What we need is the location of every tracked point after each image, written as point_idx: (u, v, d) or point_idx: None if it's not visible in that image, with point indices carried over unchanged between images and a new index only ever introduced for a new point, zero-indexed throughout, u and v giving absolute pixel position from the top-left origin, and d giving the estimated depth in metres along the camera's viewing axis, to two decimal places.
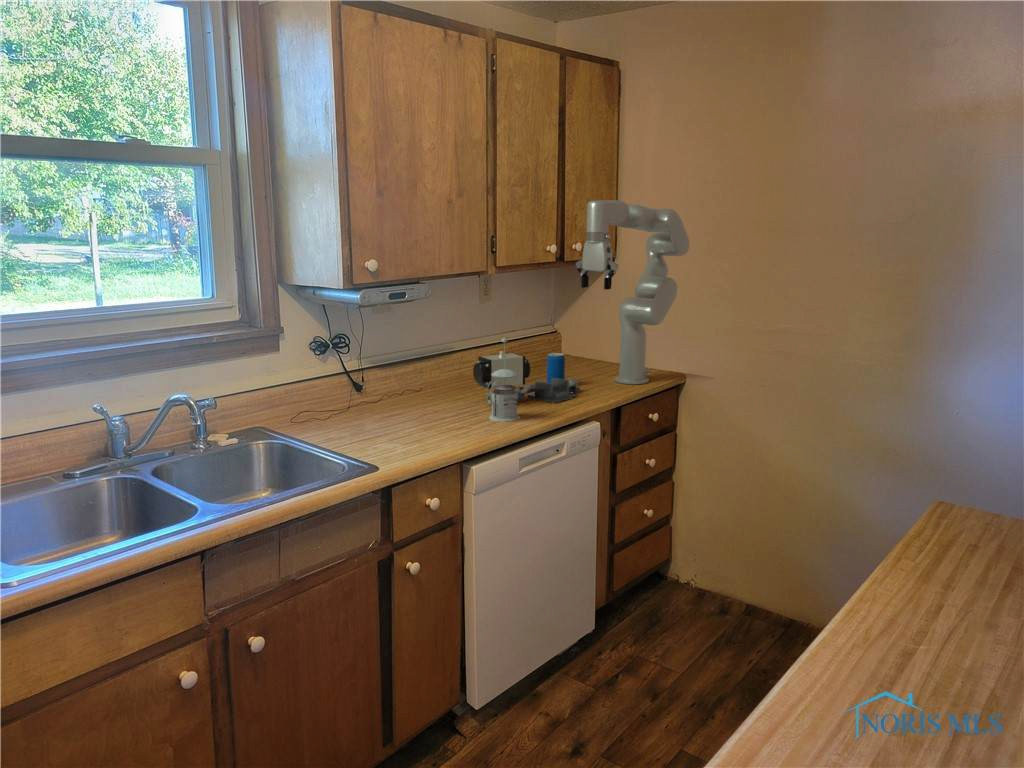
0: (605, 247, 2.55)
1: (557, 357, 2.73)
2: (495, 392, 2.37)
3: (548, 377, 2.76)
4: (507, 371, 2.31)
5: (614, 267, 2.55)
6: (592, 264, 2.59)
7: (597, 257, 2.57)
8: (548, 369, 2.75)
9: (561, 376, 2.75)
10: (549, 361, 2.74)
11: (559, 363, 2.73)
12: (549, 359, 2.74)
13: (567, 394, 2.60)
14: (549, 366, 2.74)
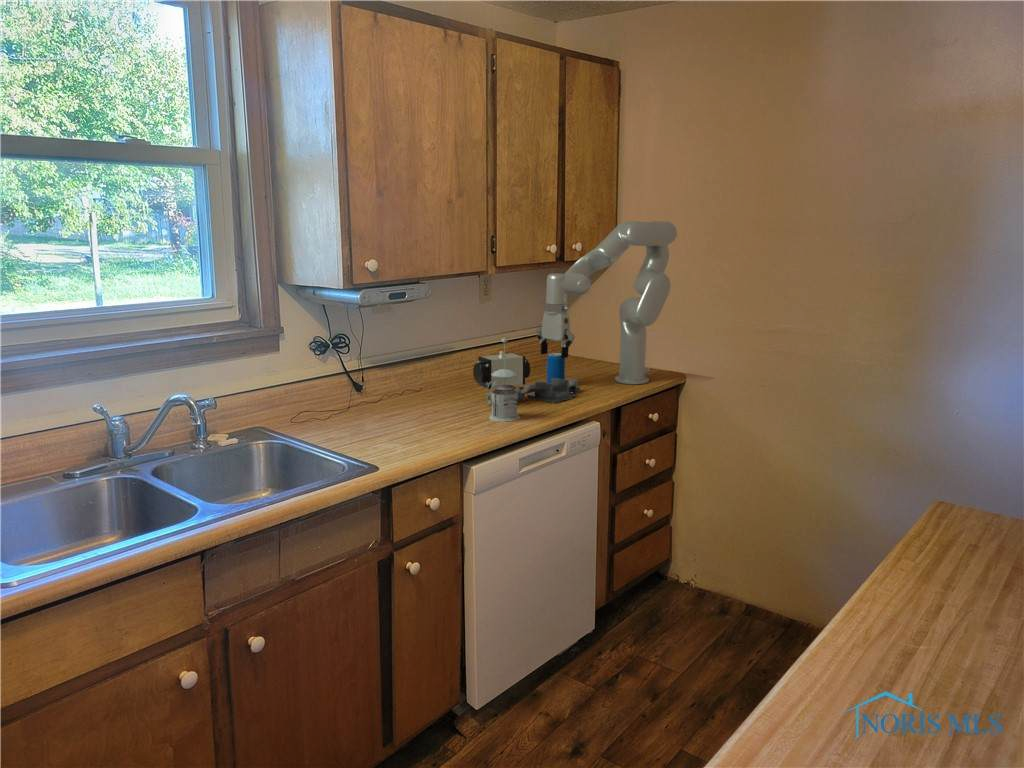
0: (563, 318, 2.68)
1: (557, 357, 2.73)
2: (495, 392, 2.37)
3: (548, 377, 2.76)
4: (507, 371, 2.31)
5: (571, 338, 2.68)
6: (551, 333, 2.72)
7: (555, 327, 2.70)
8: (548, 369, 2.75)
9: (561, 376, 2.75)
10: (549, 361, 2.74)
11: (559, 363, 2.73)
12: (549, 359, 2.74)
13: (567, 394, 2.60)
14: (549, 366, 2.74)
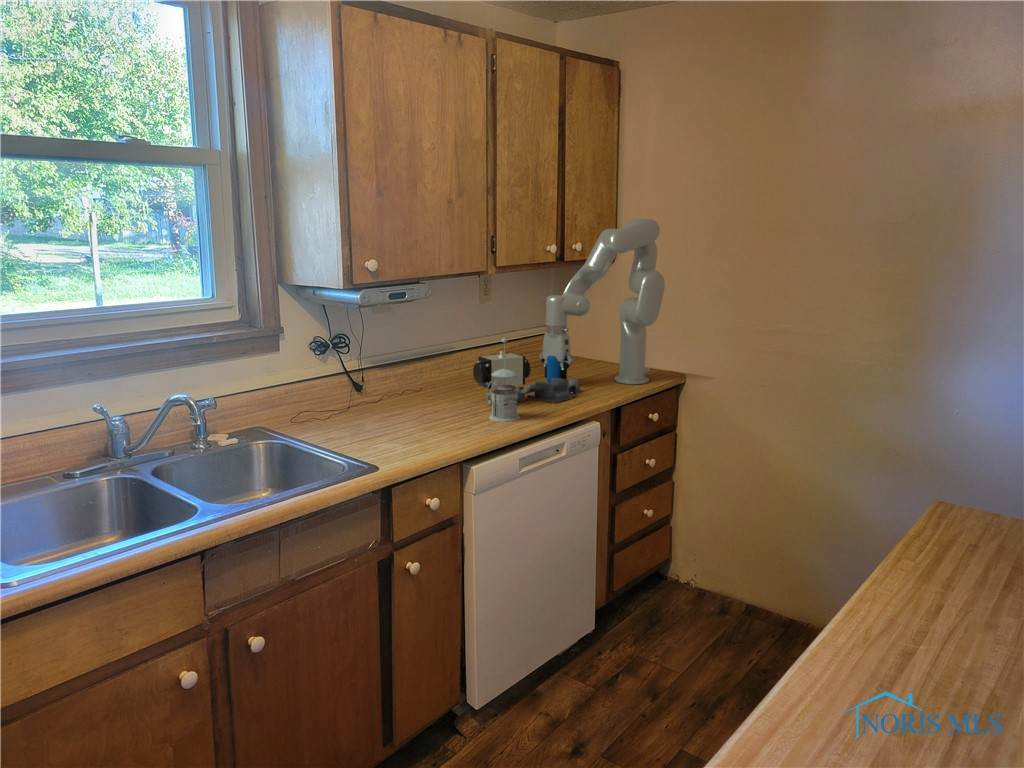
0: (563, 340, 2.70)
1: None
2: (495, 392, 2.37)
3: (548, 377, 2.76)
4: (507, 371, 2.31)
5: (569, 361, 2.71)
6: (552, 354, 2.74)
7: (556, 349, 2.72)
8: (548, 369, 2.75)
9: None
10: (549, 361, 2.74)
11: (559, 363, 2.73)
12: (549, 359, 2.74)
13: (567, 394, 2.60)
14: (549, 366, 2.74)
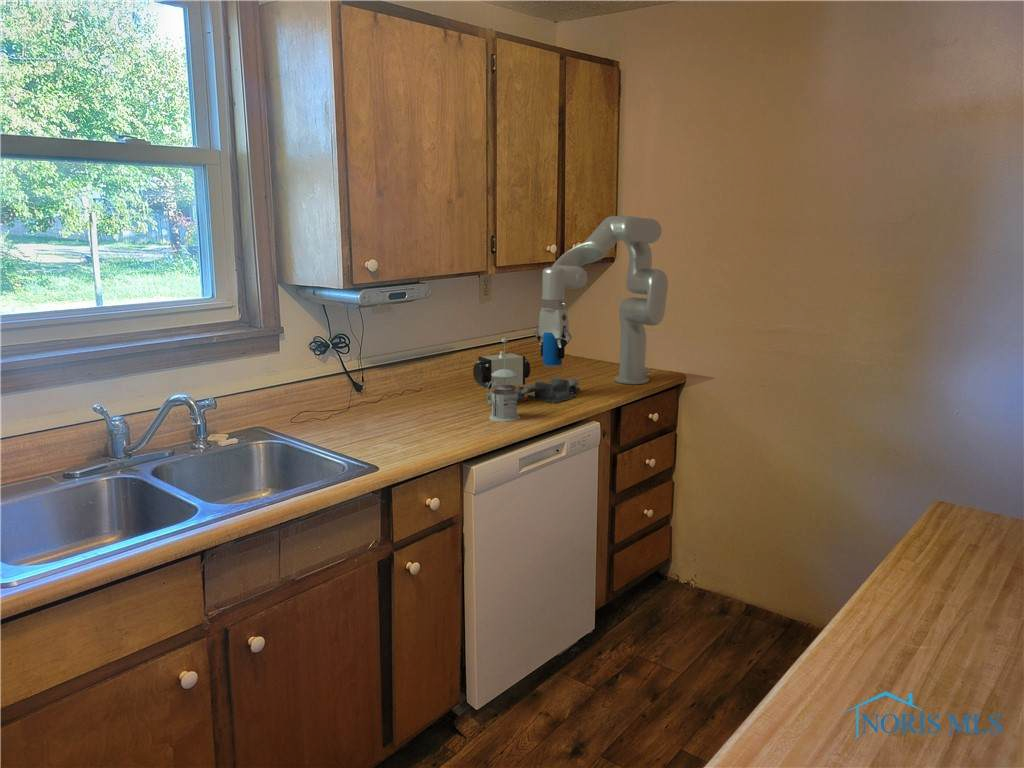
0: (560, 315, 2.51)
1: None
2: (495, 392, 2.37)
3: (544, 355, 2.56)
4: (507, 371, 2.31)
5: (567, 338, 2.52)
6: (548, 331, 2.55)
7: (553, 325, 2.53)
8: (544, 347, 2.56)
9: None
10: (546, 338, 2.55)
11: (556, 340, 2.54)
12: (545, 336, 2.55)
13: (567, 394, 2.60)
14: (545, 344, 2.55)
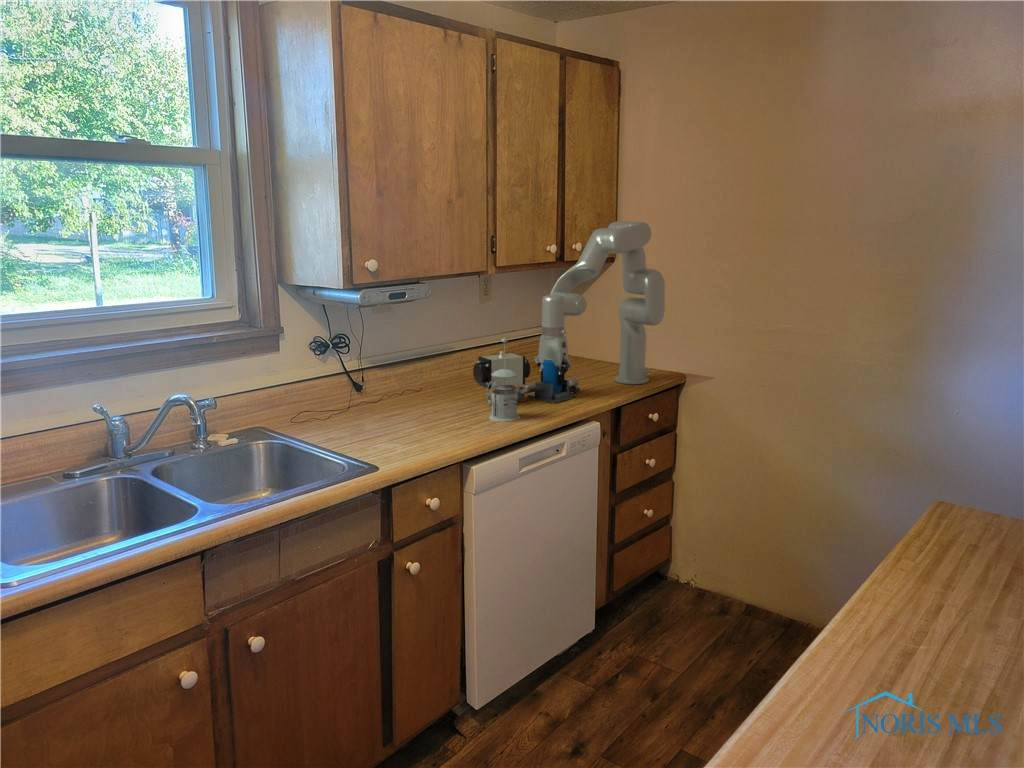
0: (560, 342, 2.53)
1: None
2: (495, 392, 2.37)
3: None
4: (507, 371, 2.31)
5: (567, 365, 2.54)
6: (548, 358, 2.57)
7: (552, 352, 2.55)
8: (544, 374, 2.58)
9: None
10: (545, 365, 2.57)
11: (555, 368, 2.56)
12: (545, 363, 2.57)
13: (567, 394, 2.60)
14: (545, 370, 2.57)
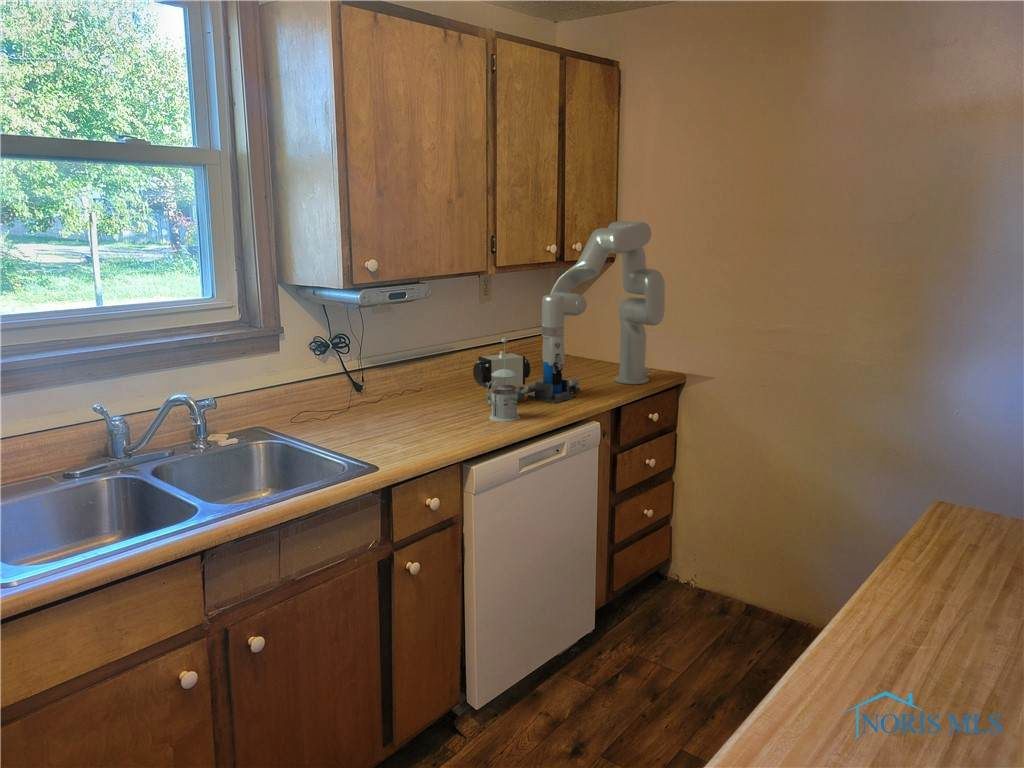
0: (553, 342, 2.53)
1: None
2: (495, 392, 2.37)
3: None
4: (507, 371, 2.31)
5: (558, 364, 2.51)
6: (546, 357, 2.58)
7: (547, 351, 2.55)
8: (543, 375, 2.60)
9: None
10: (543, 366, 2.58)
11: (551, 370, 2.56)
12: (543, 365, 2.58)
13: (567, 394, 2.60)
14: (543, 372, 2.59)
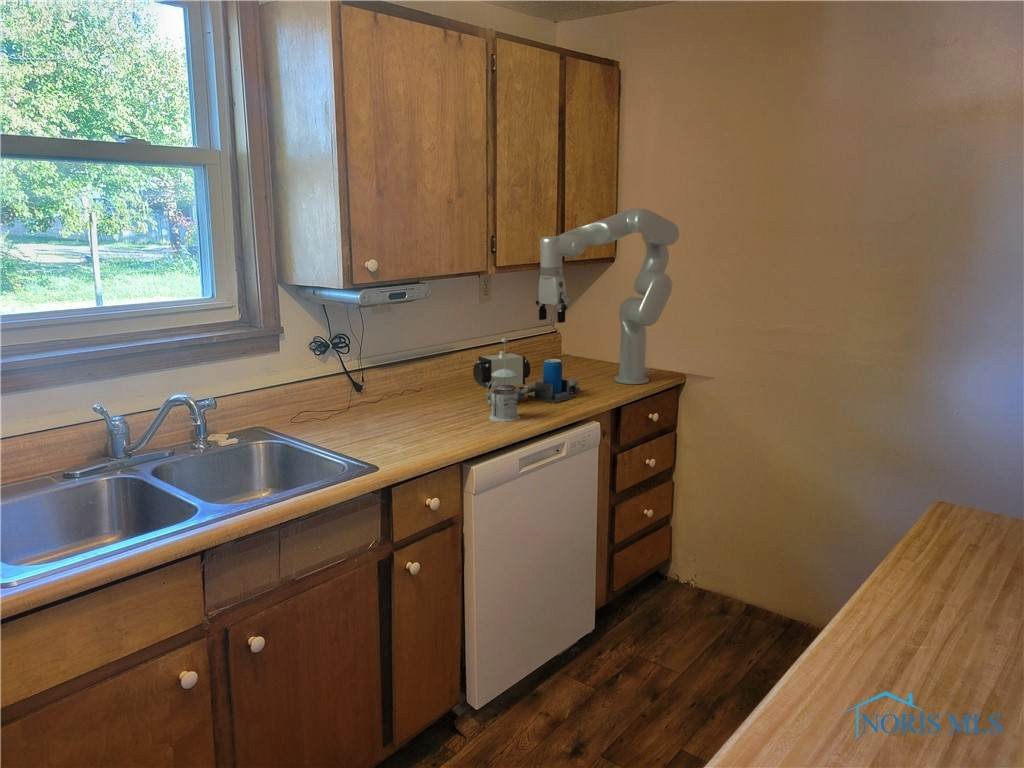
0: (557, 282, 2.62)
1: (549, 363, 2.56)
2: (495, 392, 2.37)
3: None
4: (507, 371, 2.31)
5: (565, 301, 2.61)
6: (546, 298, 2.66)
7: (550, 291, 2.63)
8: (543, 375, 2.60)
9: (554, 384, 2.57)
10: (543, 366, 2.58)
11: (551, 370, 2.56)
12: (543, 365, 2.58)
13: (567, 394, 2.60)
14: (543, 372, 2.59)
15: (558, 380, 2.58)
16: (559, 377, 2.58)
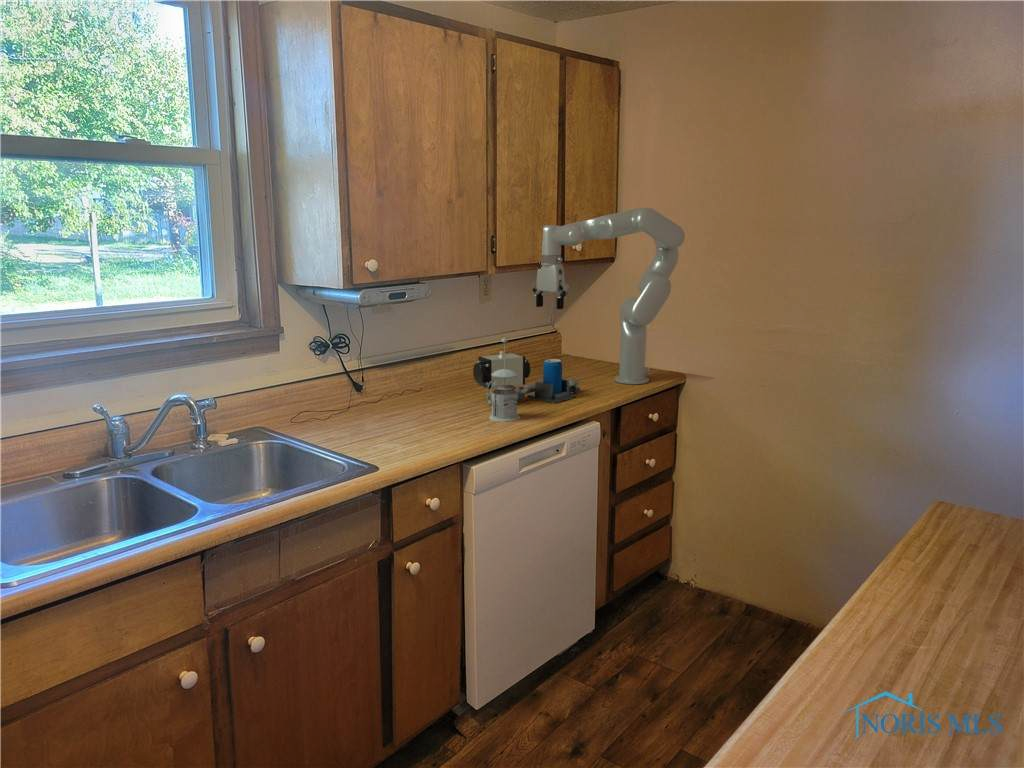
0: (557, 269, 2.70)
1: (549, 363, 2.56)
2: (495, 392, 2.37)
3: None
4: (507, 371, 2.31)
5: (565, 288, 2.69)
6: (545, 285, 2.73)
7: (550, 279, 2.71)
8: (543, 375, 2.60)
9: (554, 384, 2.57)
10: (543, 366, 2.58)
11: (551, 370, 2.56)
12: (543, 365, 2.58)
13: (567, 394, 2.60)
14: (543, 372, 2.59)
15: (558, 380, 2.58)
16: (559, 377, 2.58)
